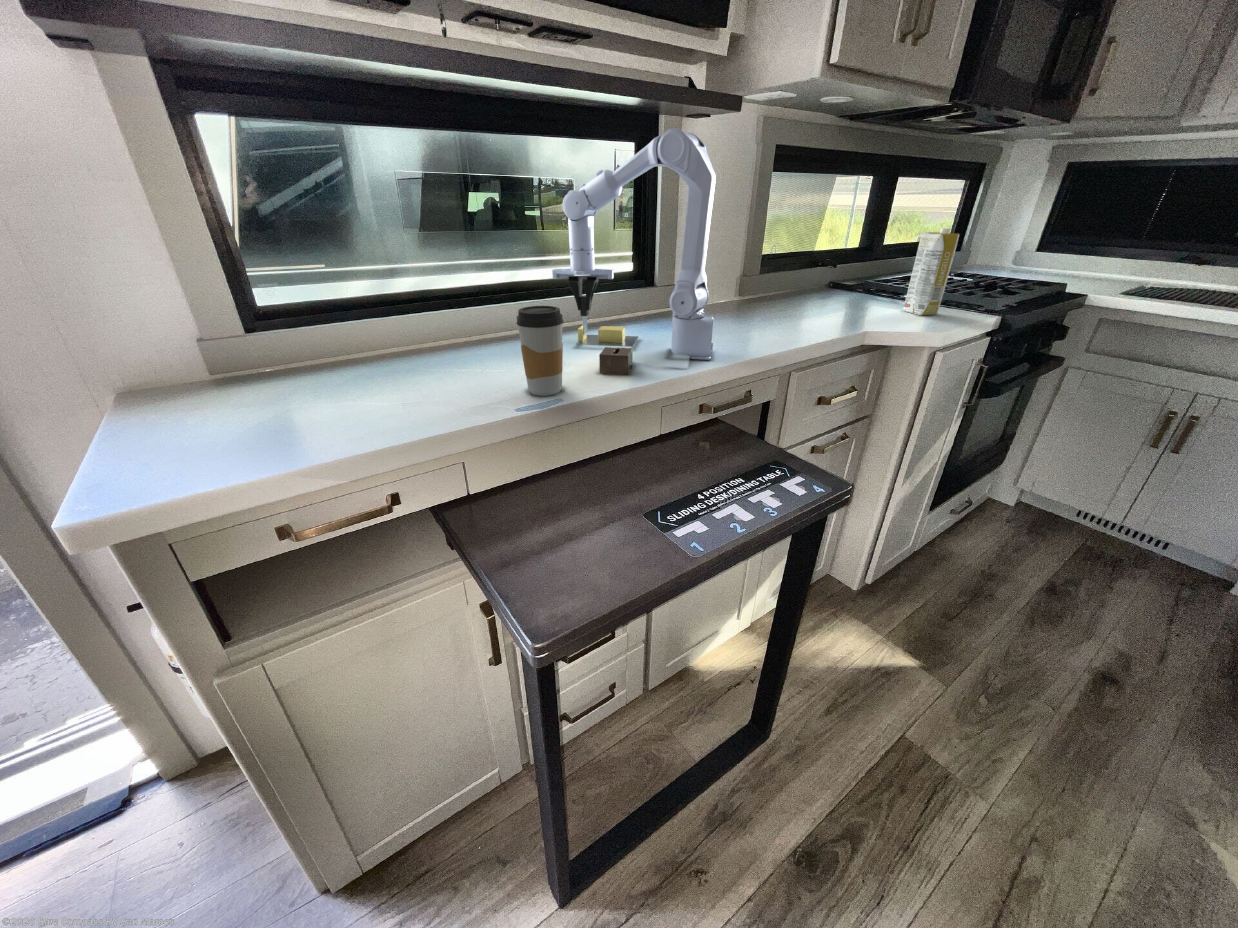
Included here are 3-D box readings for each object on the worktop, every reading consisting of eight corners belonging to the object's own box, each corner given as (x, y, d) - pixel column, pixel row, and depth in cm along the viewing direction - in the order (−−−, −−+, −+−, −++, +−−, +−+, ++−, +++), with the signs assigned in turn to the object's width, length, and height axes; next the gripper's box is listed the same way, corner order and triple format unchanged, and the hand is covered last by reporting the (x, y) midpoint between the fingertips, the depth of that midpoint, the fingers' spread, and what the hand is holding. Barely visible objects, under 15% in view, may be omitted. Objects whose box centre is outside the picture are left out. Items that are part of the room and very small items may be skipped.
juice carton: (942, 315, 155) (966, 229, 144) (919, 316, 154) (942, 229, 142) (919, 309, 163) (941, 227, 152) (898, 310, 162) (918, 228, 150)
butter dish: (638, 340, 130) (638, 336, 130) (632, 350, 121) (632, 346, 121) (585, 338, 132) (585, 334, 132) (575, 348, 123) (575, 344, 123)
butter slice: (586, 337, 129) (586, 325, 127) (582, 341, 125) (582, 329, 124) (582, 337, 129) (581, 325, 128) (578, 341, 126) (577, 329, 124)
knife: (590, 332, 128) (588, 295, 123) (587, 335, 125) (585, 297, 121) (583, 332, 128) (582, 295, 124) (580, 334, 125) (579, 297, 121)
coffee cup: (576, 390, 96) (572, 309, 89) (539, 401, 91) (531, 316, 84) (551, 380, 101) (545, 303, 94) (514, 390, 97) (506, 309, 90)
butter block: (625, 338, 127) (625, 326, 126) (622, 342, 124) (622, 330, 123) (601, 338, 128) (601, 326, 127) (598, 341, 125) (598, 329, 123)
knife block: (632, 366, 110) (632, 348, 108) (628, 374, 104) (628, 355, 103) (605, 365, 111) (605, 347, 109) (599, 373, 105) (599, 354, 103)
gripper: (546, 251, 115) (551, 312, 121) (609, 251, 113) (610, 313, 119) (555, 248, 121) (559, 306, 128) (614, 248, 119) (615, 308, 125)
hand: (584, 309), depth 124 cm, fingers closed on knife, 1 cm apart
